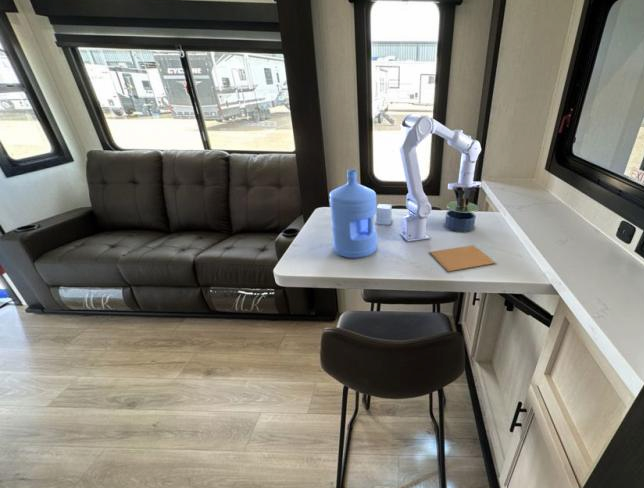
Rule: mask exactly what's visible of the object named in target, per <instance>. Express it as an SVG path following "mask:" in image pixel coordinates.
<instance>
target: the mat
mask: <svg viewBox="0 0 644 488" xmlns="http://www.w3.org/2000/svg"><path fill="white" fill-rule="evenodd" d="M429 254H431V256H432V257H433V258H434V259H435V260H436V261H437V262H438V263H439V264H440V265H441V266H442V267H443V268H444V269H445V271H447V272H448V273H450V272H451V273H452V272H455V271H456V272H457V271H462V270H467V269H473V268H479V267H484V266H489V265H494V264H495V262H494V261H493V260H492V259H491V258H489V257H488V256H487V255H486V254H484V253H483V252H482V251H480V250H479V249H478V248H477V247H475V246H474V245H467V246H461V247H455V248H448V249H442V250H435V251H430V252H429Z"/></svg>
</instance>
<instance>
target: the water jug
mask: <svg viewBox="0 0 644 488" xmlns="http://www.w3.org/2000/svg"><path fill="white" fill-rule="evenodd" d="M346 173H347V176H346V178H347V181H346V183H345V184H344V185H341V186H339V187H337V188H335V189H333V190H331V191H330V192H329V207H330V216H331V230H332V238H333V243H332V245H333V250H334V252H335V253H336V254H337V255H338V256H340V257H343V258H349V259H360V258H364V257H368V256H370V255H373V253H375V252H376V250H377V249H378V241H377V229H376V228H375V227H374V217H375V216H376V208H377V205H378V204H377V193H376V192H375V190H374V189H371V188H369V187H367V186H365V185H363V184H360V183H359V182H358V175H357V173H358V170H356V169H348V170H346Z"/></svg>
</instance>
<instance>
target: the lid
mask: <svg viewBox="0 0 644 488" xmlns="http://www.w3.org/2000/svg"><path fill="white" fill-rule="evenodd" d="M445 207H446V209H448V211H450V210H452V211H455V212H460V213H476V212H478V211H479V205H477V204H475V203H474V202H473V203H472V202H469V203H468V206H466V198H465V197H464V196H463V198H462V204H461V206H458V205H457V200H454V201H449V202H447V203H446V204H445Z"/></svg>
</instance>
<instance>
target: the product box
mask: <svg viewBox="0 0 644 488" xmlns="http://www.w3.org/2000/svg"><path fill="white" fill-rule="evenodd" d="M392 208H393V205H392V204H389V203H388V204H387V203H385V204H384V203H379V204H377V205H376V214H375V216H376V217H375V218H376V220H375V221H376V222H375V223H376V225H384V226H390V225H391V223H392V215H393V213H392V210H393V209H392Z"/></svg>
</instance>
